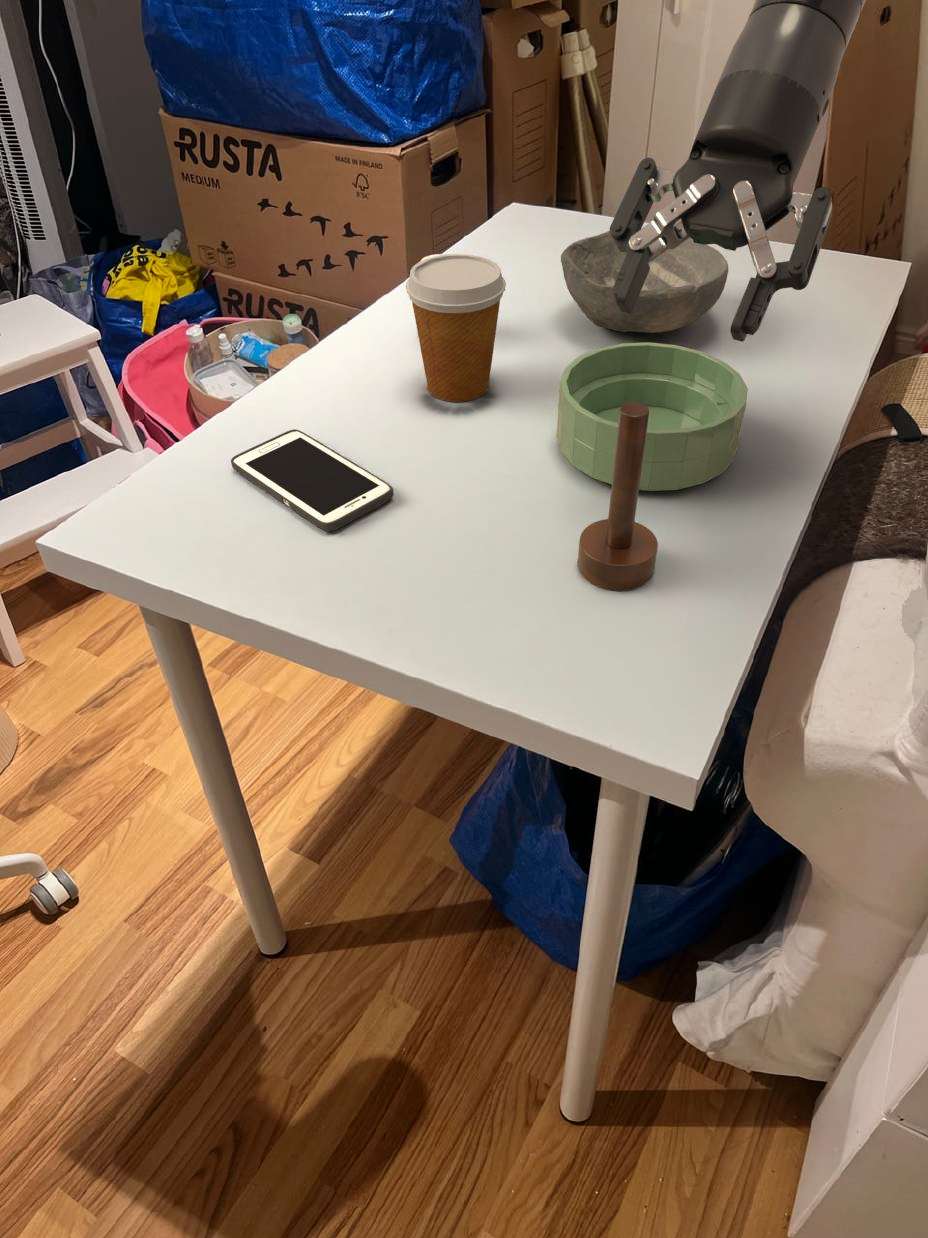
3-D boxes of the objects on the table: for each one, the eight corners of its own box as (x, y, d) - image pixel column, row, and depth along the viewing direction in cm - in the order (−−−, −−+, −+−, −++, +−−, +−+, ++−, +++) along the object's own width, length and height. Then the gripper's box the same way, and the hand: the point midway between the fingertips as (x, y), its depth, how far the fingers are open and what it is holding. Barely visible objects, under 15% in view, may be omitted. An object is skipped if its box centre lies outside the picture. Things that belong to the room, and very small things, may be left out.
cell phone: (296, 435, 87) (295, 426, 87) (398, 497, 80) (397, 488, 79) (228, 467, 83) (226, 458, 83) (328, 536, 76) (326, 526, 75)
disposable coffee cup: (480, 358, 99) (480, 245, 90) (520, 397, 92) (523, 280, 84) (398, 376, 96) (390, 262, 88) (433, 418, 89) (427, 299, 81)
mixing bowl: (738, 414, 89) (751, 352, 85) (728, 510, 78) (742, 443, 73) (574, 395, 92) (578, 334, 88) (541, 483, 81) (544, 419, 77)
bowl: (751, 336, 101) (766, 264, 96) (620, 374, 95) (628, 300, 90) (652, 279, 113) (660, 212, 108) (530, 310, 107) (533, 241, 102)
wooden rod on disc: (658, 549, 74) (683, 393, 64) (649, 596, 70) (674, 436, 60) (584, 538, 75) (598, 383, 66) (571, 584, 71) (584, 425, 61)
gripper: (662, 54, 63) (572, 277, 64) (874, 78, 57) (772, 324, 58) (682, 120, 70) (601, 321, 70) (873, 148, 64) (782, 367, 65)
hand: (678, 322), depth 64 cm, fingers open, 8 cm apart
